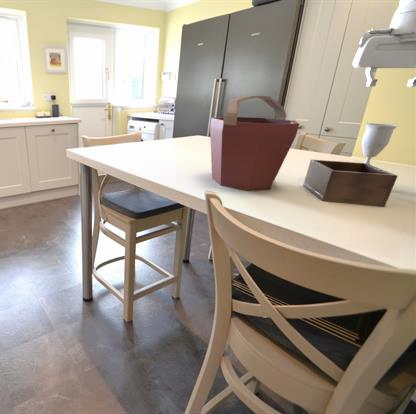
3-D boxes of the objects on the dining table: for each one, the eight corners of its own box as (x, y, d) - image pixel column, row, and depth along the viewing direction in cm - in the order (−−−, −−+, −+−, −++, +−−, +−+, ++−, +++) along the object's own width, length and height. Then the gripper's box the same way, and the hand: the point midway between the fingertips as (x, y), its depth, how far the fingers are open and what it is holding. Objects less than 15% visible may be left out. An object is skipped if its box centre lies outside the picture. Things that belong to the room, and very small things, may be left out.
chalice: (371, 190, 82) (396, 126, 75) (342, 184, 87) (363, 124, 80) (375, 185, 87) (399, 125, 80) (347, 180, 92) (367, 122, 85)
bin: (355, 190, 82) (365, 163, 79) (384, 206, 70) (398, 175, 67) (303, 185, 86) (310, 159, 83) (322, 200, 73) (331, 170, 70)
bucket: (225, 195, 76) (244, 95, 67) (186, 173, 96) (197, 94, 87) (301, 190, 81) (329, 97, 71) (249, 170, 101) (266, 95, 91)
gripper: (370, 26, 72) (352, 85, 77) (473, 23, 67) (446, 86, 72) (357, 31, 78) (341, 86, 83) (451, 28, 73) (427, 87, 78)
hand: (390, 86), depth 77 cm, fingers open, 8 cm apart
